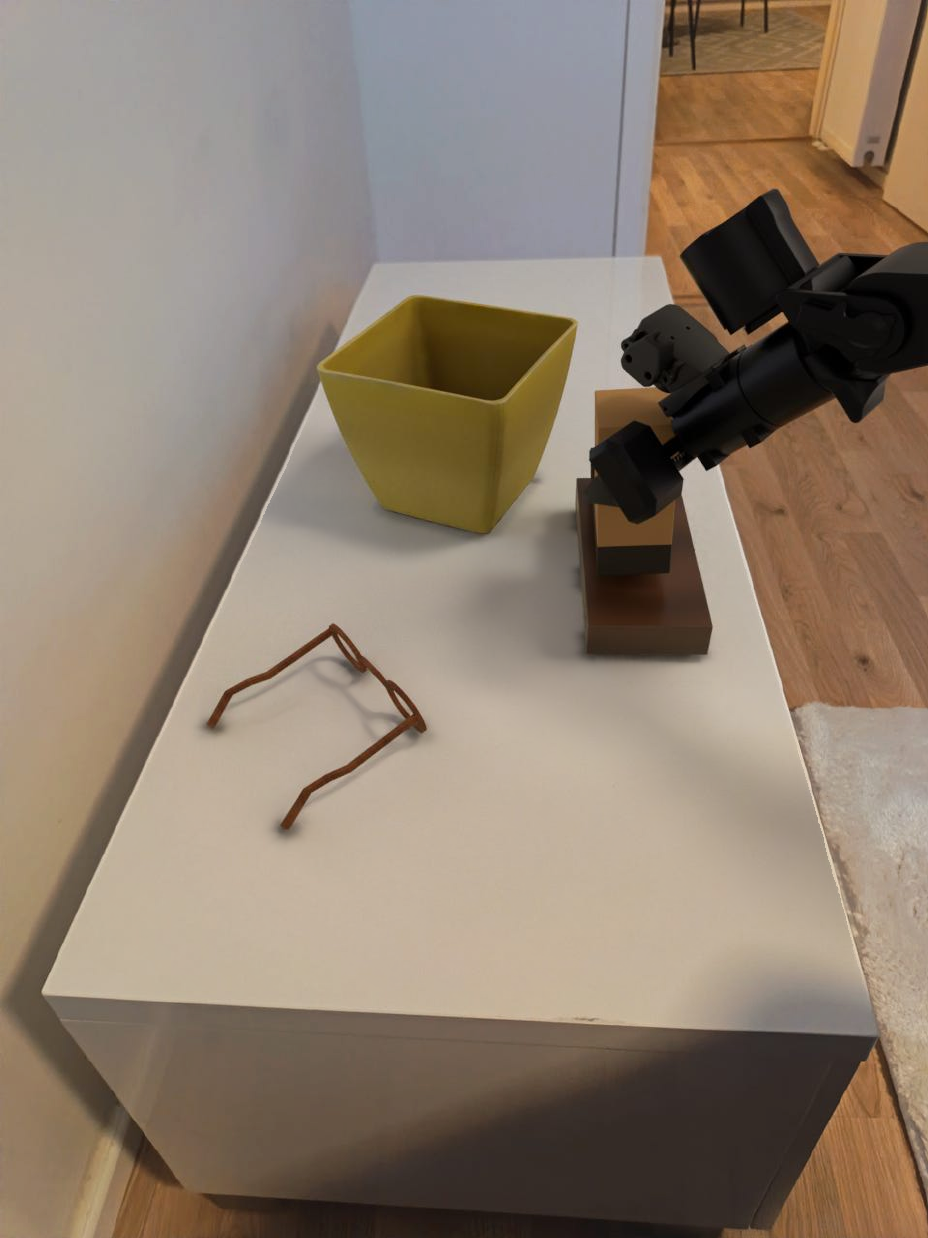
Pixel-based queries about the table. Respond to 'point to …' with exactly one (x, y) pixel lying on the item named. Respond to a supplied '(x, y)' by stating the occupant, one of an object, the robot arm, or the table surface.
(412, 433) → the flower pot
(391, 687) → the glasses
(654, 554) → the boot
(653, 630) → the brown wooden slab
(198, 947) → the table surface
